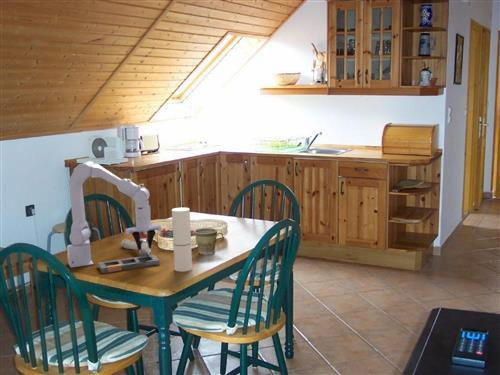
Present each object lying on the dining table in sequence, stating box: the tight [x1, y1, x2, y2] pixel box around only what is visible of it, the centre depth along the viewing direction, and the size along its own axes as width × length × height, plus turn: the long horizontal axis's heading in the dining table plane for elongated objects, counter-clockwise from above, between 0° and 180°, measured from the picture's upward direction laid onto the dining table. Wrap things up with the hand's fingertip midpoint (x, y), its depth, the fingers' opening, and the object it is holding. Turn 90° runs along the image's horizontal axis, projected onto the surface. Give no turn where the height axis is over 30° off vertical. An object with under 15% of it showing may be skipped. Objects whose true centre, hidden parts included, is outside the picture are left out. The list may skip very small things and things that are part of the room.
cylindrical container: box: [171, 207, 193, 273], centre depth 252 cm, size 7×7×25 cm
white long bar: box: [120, 238, 152, 255], centre depth 280 cm, size 5×7×25 cm
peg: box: [139, 239, 150, 257], centre depth 262 cm, size 4×4×7 cm
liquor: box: [138, 183, 152, 239], centre depth 296 cm, size 7×7×28 cm
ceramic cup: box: [194, 227, 224, 255], centre depth 276 cm, size 13×10×10 cm
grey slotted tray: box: [97, 254, 161, 274], centre depth 260 cm, size 24×9×2 cm, turn 114°
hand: (144, 248), depth 262 cm, fingers closed on peg, 4 cm apart
